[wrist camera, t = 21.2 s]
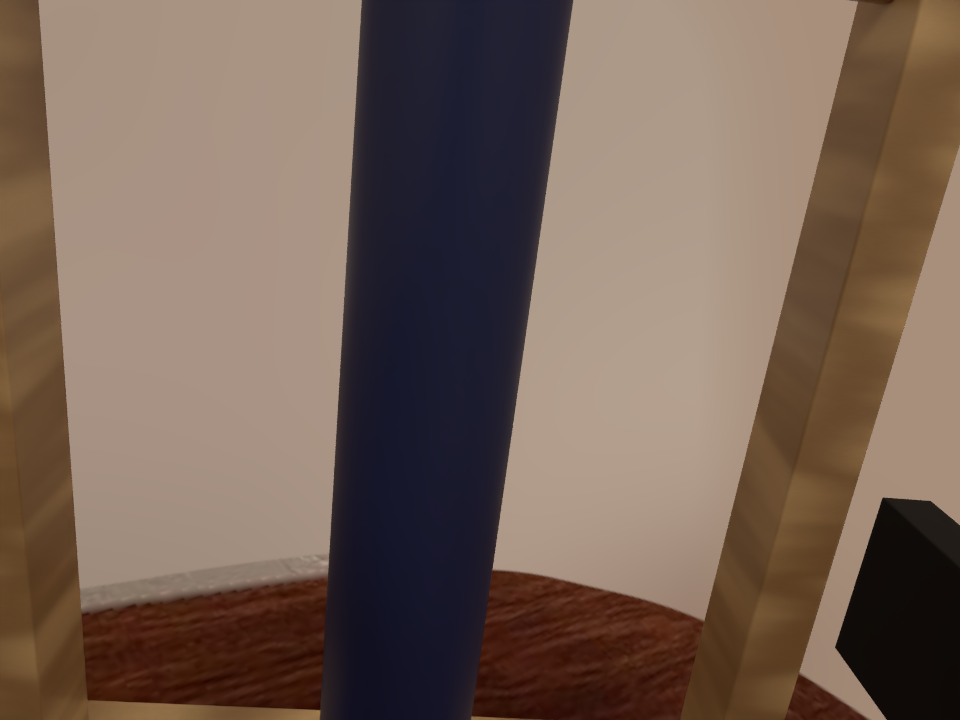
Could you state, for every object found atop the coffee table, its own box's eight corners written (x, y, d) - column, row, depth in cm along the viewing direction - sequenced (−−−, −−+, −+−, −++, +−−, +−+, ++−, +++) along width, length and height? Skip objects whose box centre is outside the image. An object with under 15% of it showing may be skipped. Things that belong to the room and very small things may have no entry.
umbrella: (466, 893, 20) (657, -345, 11) (293, 889, 19) (356, -398, 11) (455, 633, 29) (555, -150, 21) (338, 626, 29) (391, -176, 20)
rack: (688, 753, 32) (901, -78, 22) (766, 955, 25) (1143, -164, 15) (67, 728, 30) (-10, -212, 20) (-56, 944, 22) (-281, -394, 12)
